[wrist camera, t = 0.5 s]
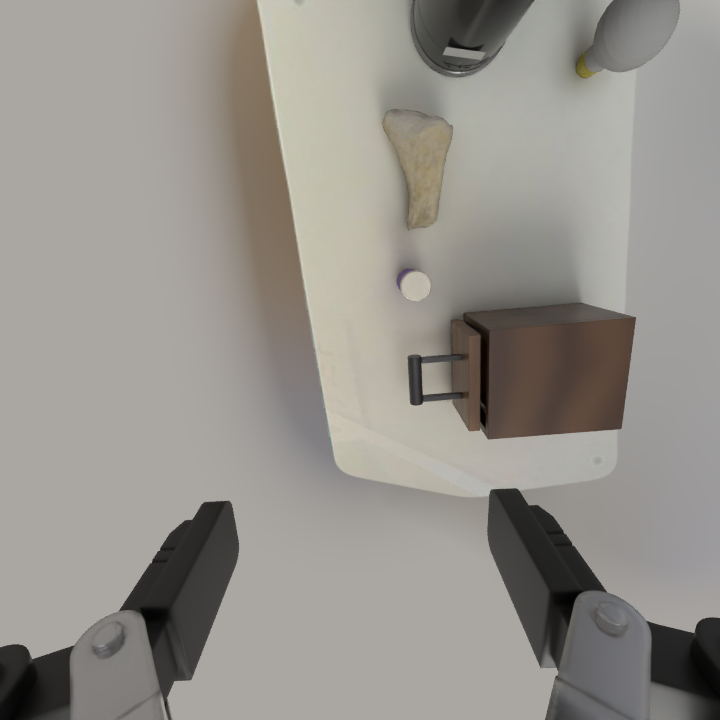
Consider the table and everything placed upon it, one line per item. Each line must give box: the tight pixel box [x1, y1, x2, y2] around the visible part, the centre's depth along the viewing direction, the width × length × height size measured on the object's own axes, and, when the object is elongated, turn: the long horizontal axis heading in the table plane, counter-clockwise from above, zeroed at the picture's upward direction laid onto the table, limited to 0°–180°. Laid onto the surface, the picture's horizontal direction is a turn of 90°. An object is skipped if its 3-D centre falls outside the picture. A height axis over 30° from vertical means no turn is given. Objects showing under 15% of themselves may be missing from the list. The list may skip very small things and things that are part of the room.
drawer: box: [408, 320, 487, 431], centre depth 41 cm, size 18×10×7 cm, turn 95°
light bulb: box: [576, 0, 680, 78], centre depth 32 cm, size 6×6×10 cm
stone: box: [382, 109, 453, 230], centre depth 37 cm, size 11×6×5 cm, turn 16°
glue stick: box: [397, 269, 431, 301], centre depth 40 cm, size 3×3×6 cm
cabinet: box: [464, 303, 636, 439], centre depth 41 cm, size 14×12×9 cm
